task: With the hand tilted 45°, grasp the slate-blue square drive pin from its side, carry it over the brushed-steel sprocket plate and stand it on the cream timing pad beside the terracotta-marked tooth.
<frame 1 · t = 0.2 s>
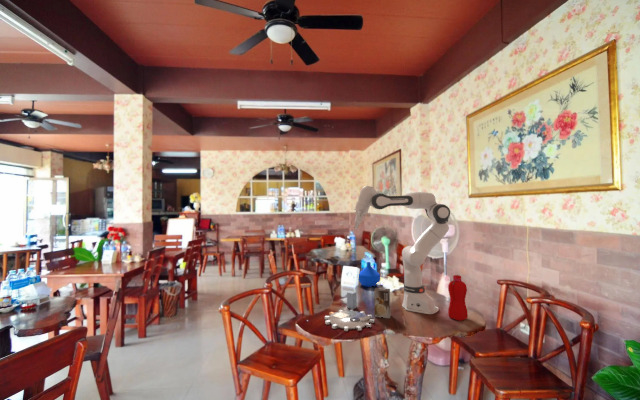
hand: (355, 229, 201), 51 cm above the table, tool tilted 20°, fingers open, 8 cm apart
water bottle: (456, 318, 179), on the table
sprocket: (349, 320, 177), on the table
drive pin: (351, 307, 199), on the table
vase: (369, 285, 251), on the table
coffee box: (382, 316, 184), on the table
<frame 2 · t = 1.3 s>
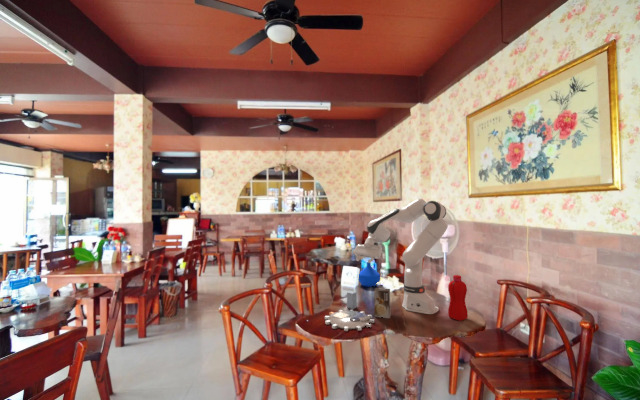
hand: (363, 261, 210), 28 cm above the table, tool tilted 45°, fingers open, 8 cm apart
nothing on the table moved.
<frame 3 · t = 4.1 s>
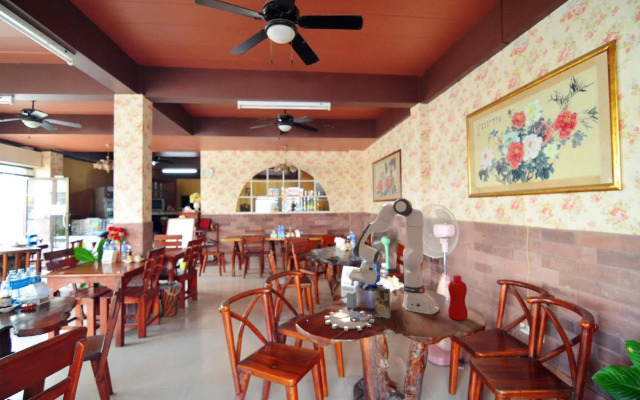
hand: (357, 286, 205), 12 cm above the table, tool tilted 45°, fingers open, 8 cm apart
nothing on the table moved.
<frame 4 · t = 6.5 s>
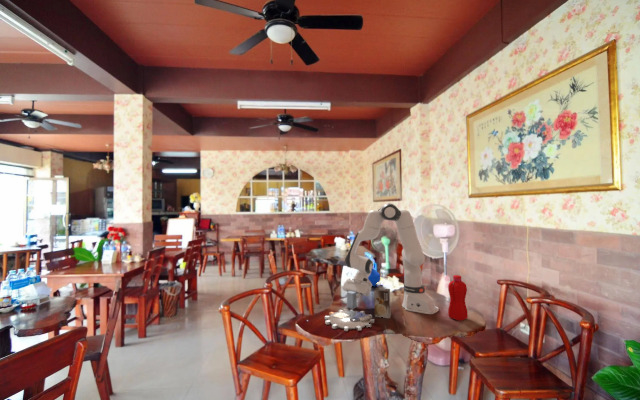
hand: (351, 298, 199), 6 cm above the table, tool tilted 45°, fingers closed on drive pin, 4 cm apart
drive pin: (351, 307, 199), on the table, touching gripper
everything else where it was.
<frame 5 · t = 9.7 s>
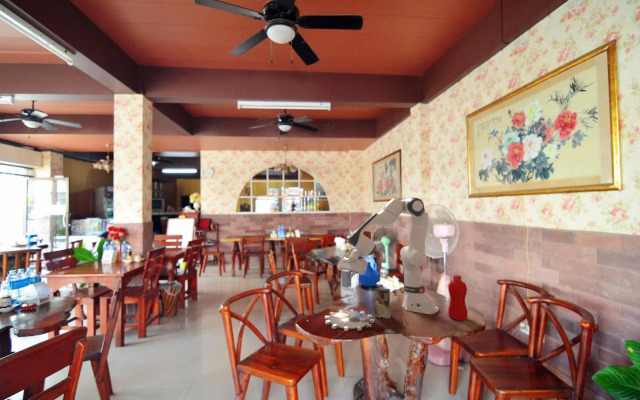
hand: (346, 277, 192), 22 cm above the table, tool tilted 45°, fingers closed on drive pin, 4 cm apart
drive pin: (346, 286, 192), point 16 cm above the table, touching gripper
everything else where it was.
when the fingers open (9 cm above the table, at t = 12.9 s): drive pin drops 1 cm, resting on sprocket.
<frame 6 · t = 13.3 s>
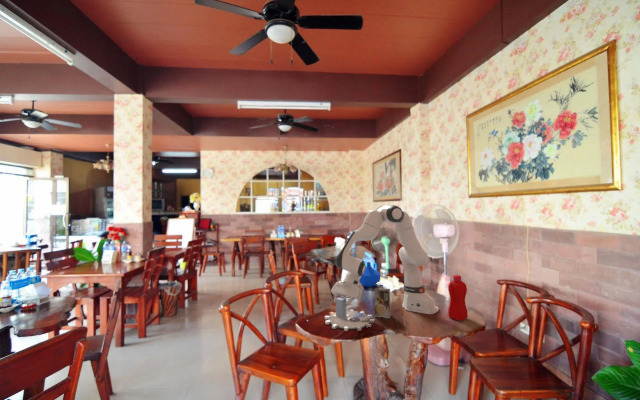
hand: (340, 302, 181), 9 cm above the table, tool tilted 45°, fingers open, 8 cm apart
drive pin: (341, 315, 181), point 2 cm above the table, touching sprocket
everything else where it was.
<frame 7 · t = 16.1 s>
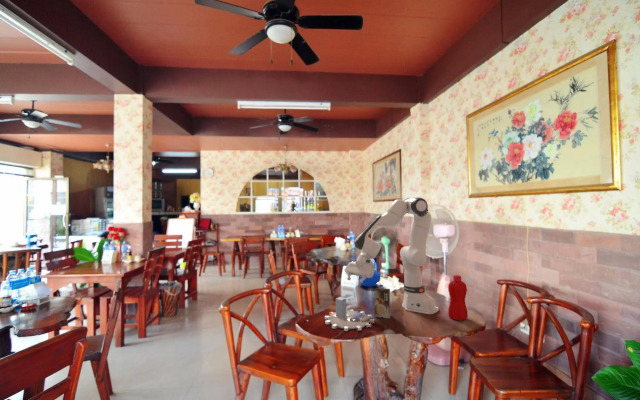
hand: (354, 280, 192), 19 cm above the table, tool tilted 45°, fingers open, 8 cm apart
nothing on the table moved.
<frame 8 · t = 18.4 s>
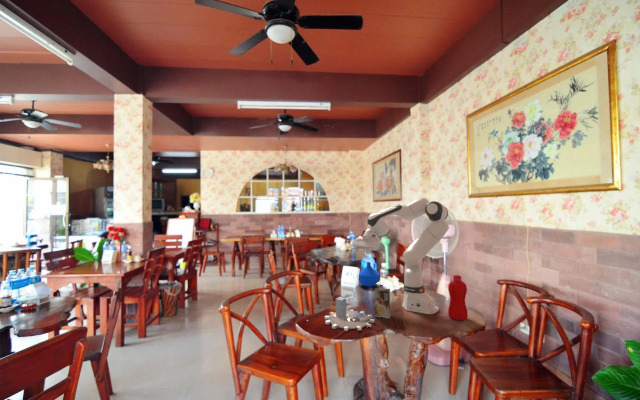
hand: (361, 253, 212), 33 cm above the table, tool tilted 45°, fingers open, 8 cm apart
nothing on the table moved.
at the end: drive pin 0.1 cm from the target spot on the sprocket, point 1.7 cm above the sprocket's base; drive pin tilted 0°; the gripper is holding nothing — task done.
